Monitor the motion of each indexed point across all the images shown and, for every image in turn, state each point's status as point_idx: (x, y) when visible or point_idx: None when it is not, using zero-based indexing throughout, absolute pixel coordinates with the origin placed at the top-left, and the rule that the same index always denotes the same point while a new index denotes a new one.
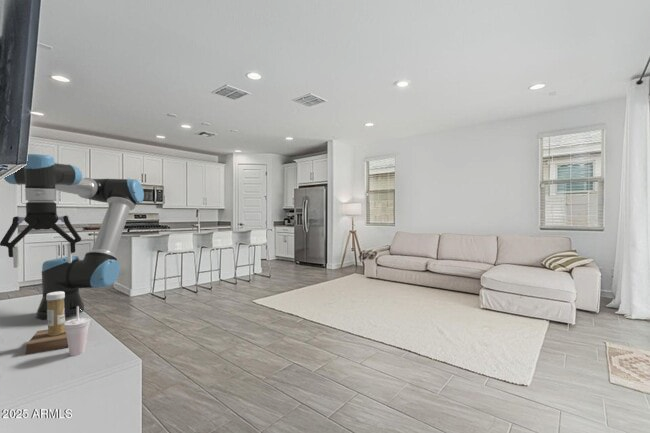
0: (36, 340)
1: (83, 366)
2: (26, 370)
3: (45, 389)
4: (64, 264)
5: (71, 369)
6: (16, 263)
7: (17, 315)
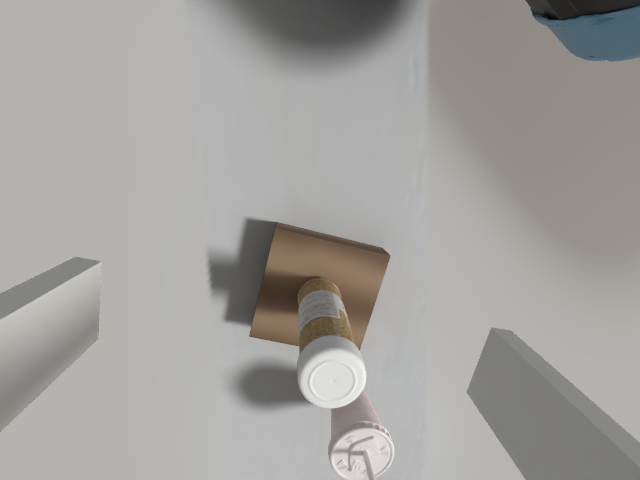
0: (271, 320)
1: None
2: (254, 415)
3: None
4: None
5: (324, 462)
6: (69, 364)
7: None
